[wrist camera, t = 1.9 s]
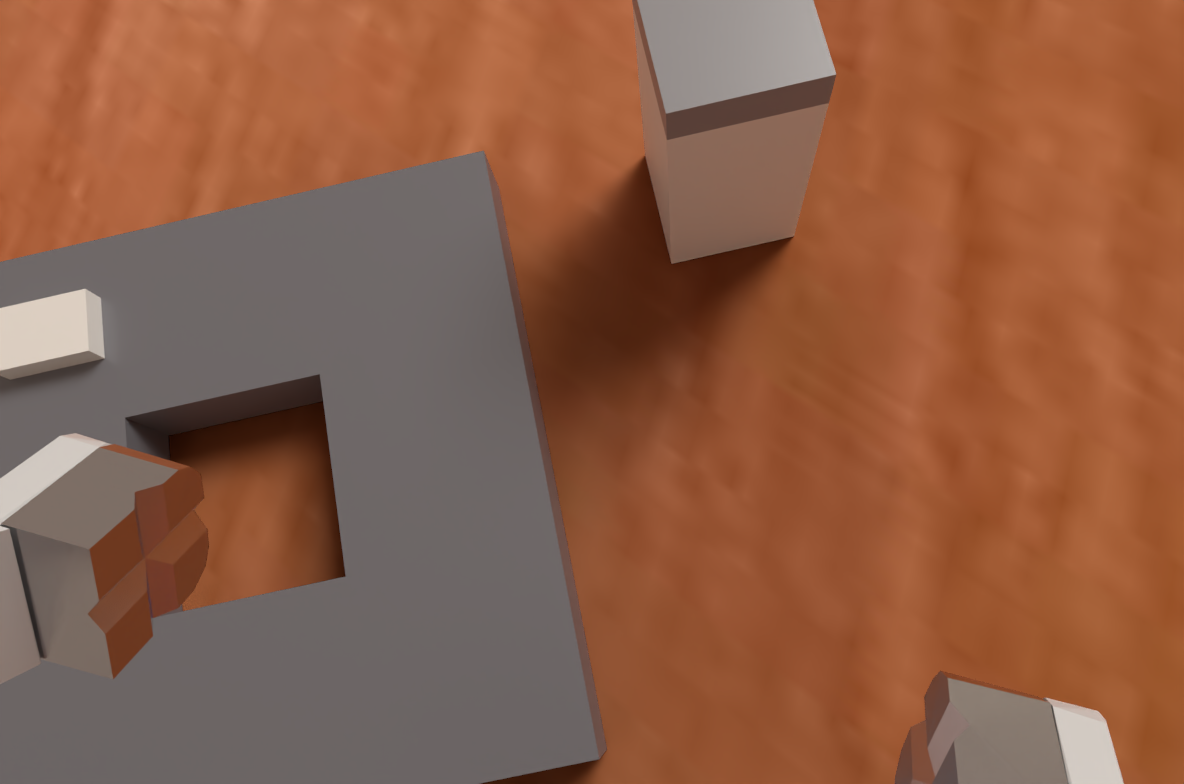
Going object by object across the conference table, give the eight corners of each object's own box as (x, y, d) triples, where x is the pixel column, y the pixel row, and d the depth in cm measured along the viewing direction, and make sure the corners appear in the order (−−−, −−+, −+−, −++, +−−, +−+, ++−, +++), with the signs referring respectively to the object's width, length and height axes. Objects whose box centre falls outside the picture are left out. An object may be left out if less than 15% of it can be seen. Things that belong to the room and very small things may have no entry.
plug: (763, 128, 32) (792, -67, 23) (793, 236, 31) (836, 74, 22) (645, 155, 32) (629, -29, 23) (671, 263, 31) (665, 113, 22)
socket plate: (499, 187, 32) (478, 137, 29) (606, 749, 27) (596, 762, 24) (-14, 305, 33) (-89, 268, 30) (1, 873, 28) (-86, 902, 25)
